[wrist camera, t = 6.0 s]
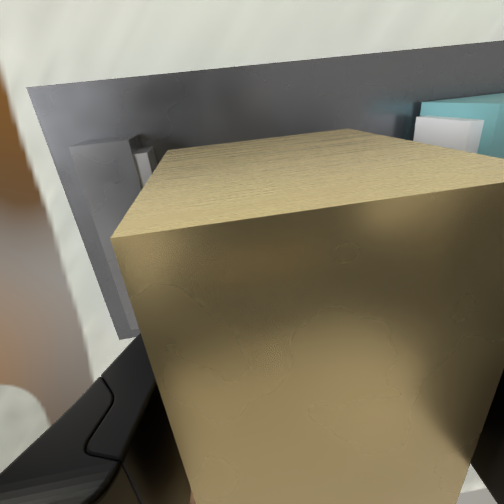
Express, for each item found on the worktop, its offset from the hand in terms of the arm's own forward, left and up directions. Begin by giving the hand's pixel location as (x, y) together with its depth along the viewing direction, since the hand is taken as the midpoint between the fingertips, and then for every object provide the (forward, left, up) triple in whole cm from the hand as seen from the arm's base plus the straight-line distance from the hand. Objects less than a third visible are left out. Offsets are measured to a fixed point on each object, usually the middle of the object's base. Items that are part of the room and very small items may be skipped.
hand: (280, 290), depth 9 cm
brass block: (0, 0, -2) cm, 2 cm away
